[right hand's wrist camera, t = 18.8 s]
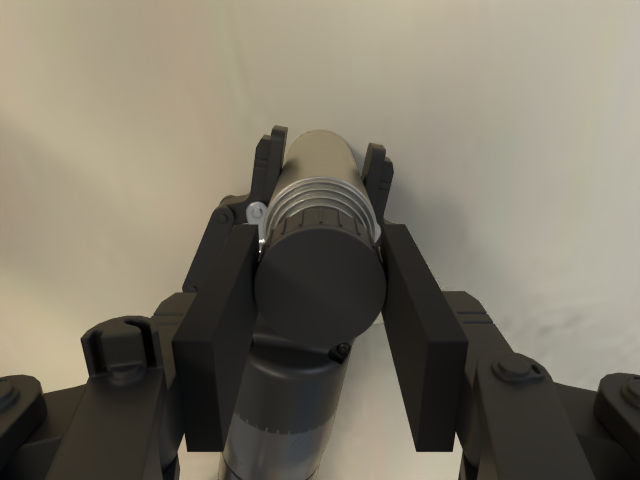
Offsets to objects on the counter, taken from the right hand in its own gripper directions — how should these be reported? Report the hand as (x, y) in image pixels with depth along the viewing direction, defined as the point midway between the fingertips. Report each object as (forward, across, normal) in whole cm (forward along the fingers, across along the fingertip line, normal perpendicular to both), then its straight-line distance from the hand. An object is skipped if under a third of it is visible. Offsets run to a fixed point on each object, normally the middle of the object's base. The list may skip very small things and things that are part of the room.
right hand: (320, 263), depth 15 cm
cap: (-2, 0, 0) cm, 2 cm away
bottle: (+17, 0, 0) cm, 17 cm away
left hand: (+10, 0, -3) cm, 10 cm away
